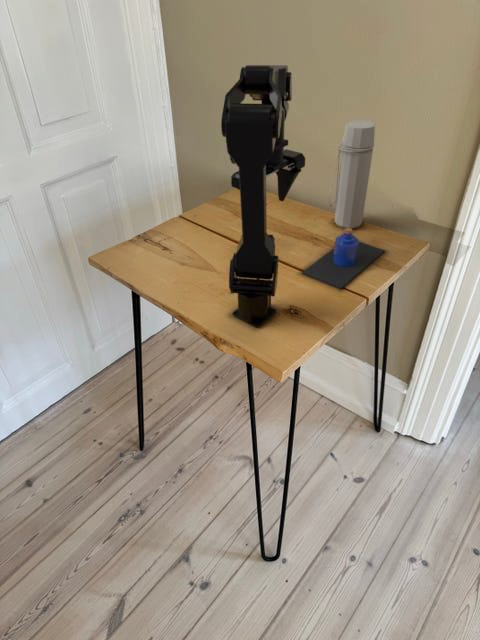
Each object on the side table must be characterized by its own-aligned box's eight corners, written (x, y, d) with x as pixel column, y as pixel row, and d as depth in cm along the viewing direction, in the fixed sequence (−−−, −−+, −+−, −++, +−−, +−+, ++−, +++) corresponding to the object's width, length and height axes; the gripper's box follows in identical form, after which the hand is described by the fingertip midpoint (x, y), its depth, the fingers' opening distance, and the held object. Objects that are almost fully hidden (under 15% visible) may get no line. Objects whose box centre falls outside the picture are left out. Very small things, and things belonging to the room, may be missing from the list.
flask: (348, 269, 104) (353, 237, 99) (328, 261, 106) (331, 230, 101) (360, 259, 107) (365, 228, 102) (340, 252, 109) (344, 221, 104)
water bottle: (360, 217, 125) (374, 119, 109) (363, 231, 118) (379, 129, 103) (326, 216, 125) (335, 119, 110) (327, 230, 119) (337, 129, 104)
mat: (340, 289, 98) (341, 287, 98) (301, 273, 103) (301, 272, 103) (384, 252, 110) (385, 250, 110) (347, 239, 115) (347, 237, 115)
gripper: (266, 118, 103) (266, 185, 113) (209, 139, 92) (213, 212, 102) (308, 126, 97) (304, 197, 107) (252, 151, 86) (253, 227, 96)
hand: (268, 207), depth 103 cm, fingers open, 9 cm apart
